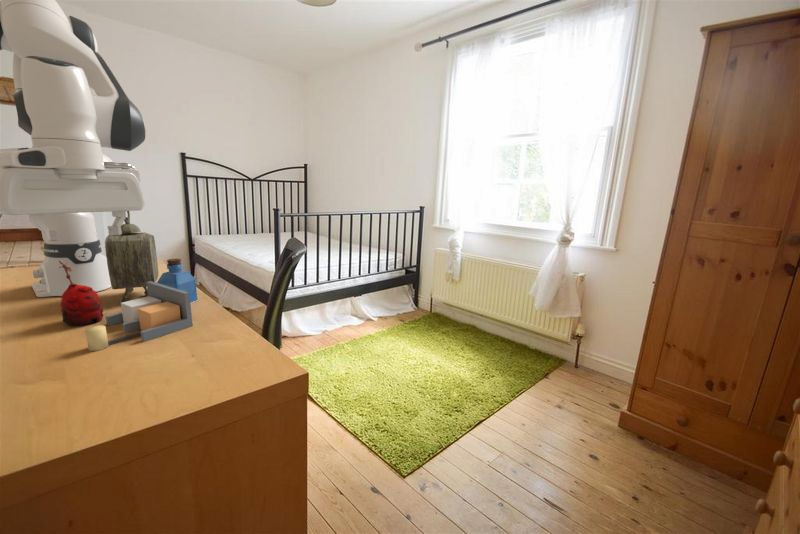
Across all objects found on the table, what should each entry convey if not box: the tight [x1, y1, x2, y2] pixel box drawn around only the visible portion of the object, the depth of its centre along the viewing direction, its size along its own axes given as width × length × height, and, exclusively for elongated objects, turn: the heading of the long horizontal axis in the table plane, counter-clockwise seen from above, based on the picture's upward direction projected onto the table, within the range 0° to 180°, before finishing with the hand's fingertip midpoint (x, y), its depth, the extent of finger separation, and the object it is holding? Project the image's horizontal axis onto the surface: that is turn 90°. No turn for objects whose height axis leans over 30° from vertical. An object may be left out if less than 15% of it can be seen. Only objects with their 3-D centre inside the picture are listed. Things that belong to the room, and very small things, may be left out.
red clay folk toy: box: [59, 261, 104, 326], centre depth 79 cm, size 8×7×15 cm
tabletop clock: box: [104, 211, 159, 304], centre depth 96 cm, size 14×9×25 cm, turn 29°
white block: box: [120, 296, 161, 323], centre depth 81 cm, size 5×6×5 cm
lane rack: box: [105, 281, 194, 342], centre depth 79 cm, size 16×10×8 cm, turn 61°
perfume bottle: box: [156, 258, 198, 304], centre depth 93 cm, size 6×6×12 cm
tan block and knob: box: [84, 302, 181, 352], centre depth 74 cm, size 5×16×5 cm, turn 151°
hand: (85, 237), depth 64 cm, fingers open, 8 cm apart
